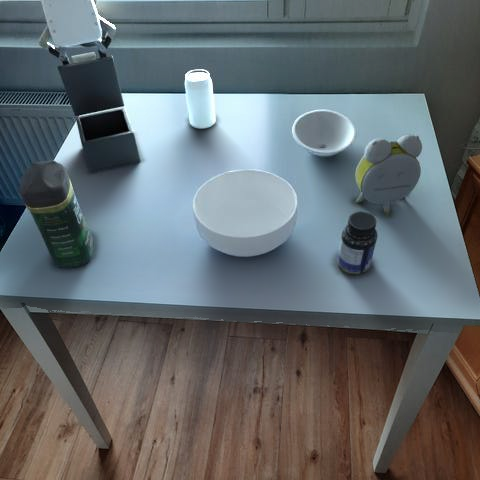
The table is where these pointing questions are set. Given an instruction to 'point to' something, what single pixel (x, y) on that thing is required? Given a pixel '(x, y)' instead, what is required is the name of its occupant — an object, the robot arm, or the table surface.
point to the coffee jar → (57, 213)
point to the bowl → (245, 212)
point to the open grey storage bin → (107, 139)
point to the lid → (91, 84)
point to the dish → (324, 132)
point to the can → (200, 99)
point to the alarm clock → (389, 170)
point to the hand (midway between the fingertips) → (88, 72)
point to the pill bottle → (357, 243)
